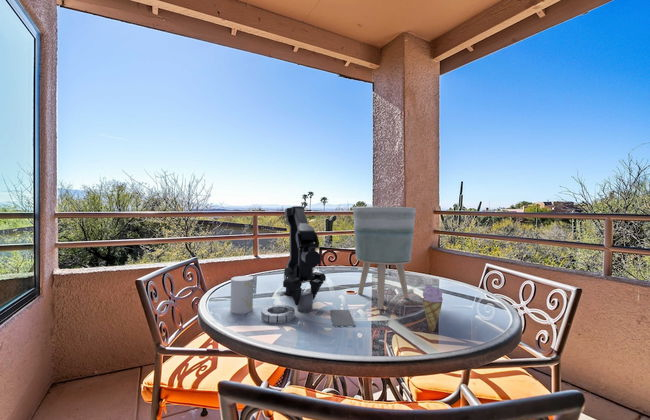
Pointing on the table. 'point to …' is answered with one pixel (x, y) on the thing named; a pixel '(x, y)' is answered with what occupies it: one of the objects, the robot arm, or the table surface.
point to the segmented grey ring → (271, 317)
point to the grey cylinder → (241, 294)
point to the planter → (383, 242)
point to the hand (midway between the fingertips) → (304, 302)
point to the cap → (305, 302)
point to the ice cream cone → (432, 305)
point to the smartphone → (341, 318)
